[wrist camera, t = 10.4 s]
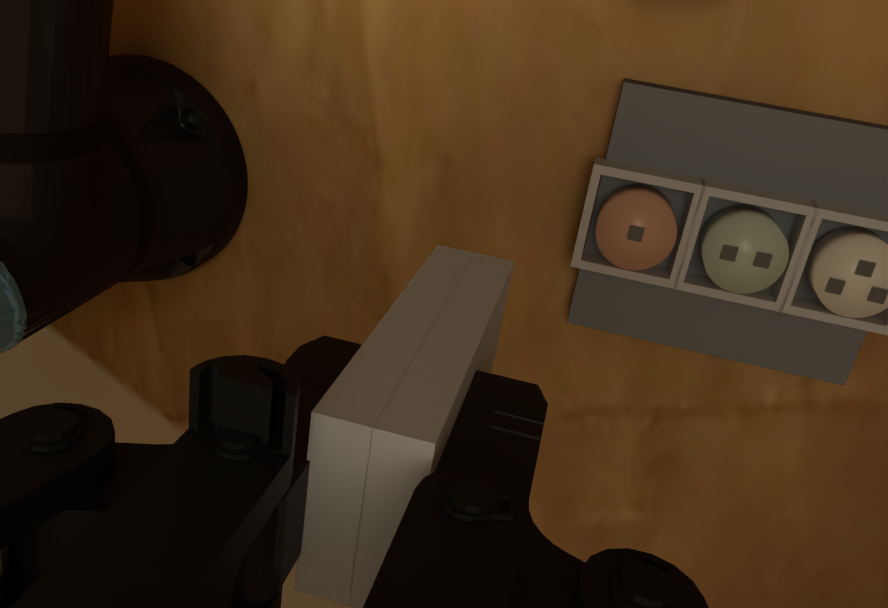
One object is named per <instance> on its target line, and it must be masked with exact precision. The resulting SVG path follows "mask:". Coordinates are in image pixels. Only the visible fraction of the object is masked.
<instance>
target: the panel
mask: <svg viewBox="0 0 888 608" xmlns="http://www.w3.org/2000/svg"><path fill="white" fill-rule="evenodd" d="M600 176H601V179H600ZM599 180H600V183H599ZM598 184H599V187H598ZM631 184H643V185H648V186H651V187H653V188H655V189H657V190H659V191H660V192H662V193H663V194H664V195H665V196H666V197H667V199H668V200H669V201H670V203H671V205H672V208H673V211H674V215H675V221H676V226H677V237H676V241H675V244H674V247H673V249H672V251H671V252H670V253H669V255H668V256H667V257H666V258H665V259H664V260H663V261H662V262H660V263H659V264H657V265H655V266H653V267H651V268H648V269H644V270H627V269H623V268H620V267H618V266H616V265H614V264H612V263H611V262H610V261H608V260H607V259H606V258H605V257H604V255H603V254H602V253H601V251H600V249H599V247H598V245H597V241H596V225H597V218H598V213H599V210H600V207H601V205H602V203H603V202H604V200H605V199H606V198H607V197H608V196H609V195H610V194H611V193H612V192H613V191H615V190H617V189H618V188H620V187H623V186H626V185H631ZM597 188H598V191H597ZM596 193H597V196H596ZM595 197H596V200H595ZM594 201H595V204H594ZM593 205H594V208H593ZM738 205H748V206H753V207H757V208H759V209H762V210H763V211H765V212H767V213H768V214H769V215H770V216H771V217H772V218H773V219H774V220H775V222H776V223H777V225H778V226H779V228H780V229H781V231H782V233H783V234H784V236H785V238H786V240H787V243H788V248H789V258H788V263H787V266H786V268H785V270H784V272H783V273H782V275H781V276H780V277H779V278H778V279H777V280H776V281H775V282H774V283H773V284H772V285H770V286H769V287H767V288H765V289H763V290H761V291H757V292H753V293H746V294H741V293H733V292H730V291H727V290H724V289H723V288H721V287H719V286H718V285H716V284H715V283H714V282H713V281H712V280H711V278H710V277H709V276H708V274H707V272H706V270H705V267H704V263H703V259H702V255H701V251H700V237H701V234H702V231H703V229H704V227H705V225H706V224H707V222H708V221H709V220H710V219H711V218H712V217H713V216H714V215H715V214H717V213H718V212H720V211H722V210H724V209H726V208H729V207H732V206H738ZM592 210H593V213H592ZM591 214H592V217H591ZM590 218H591V221H590ZM589 222H590V225H589ZM588 227H589V230H588ZM849 227H857V228H864V229H867V230H870V231H872V232H874V233H876V234H877V235H879V236H880V237H881V238H882V239H883V240H884V241H885V242H886V243H887V244H888V126H885V125H880V124H874V123H869V122H863V121H857V120H852V119H846V118H841V117H835V116H830V115H824V114H819V113H813V112H808V111H802V110H797V109H791V108H786V107H780V106H775V105H769V104H763V103H758V102H752V101H747V100H741V99H736V98H730V97H725V96H719V95H714V94H708V93H703V92H697V91H692V90H686V89H681V88H675V87H670V86H664V85H658V84H653V83H647V82H642V81H636V80H631V79H625V78H624V81H623V86H622V90H621V94H620V98H619V103H618V107H617V111H616V115H615V120H614V124H613V128H612V132H611V136H610V141H609V145H608V149H607V153H606V158H605V159H603V158H598V157H595V161H594V166H593V170H592V174H591V179H590V183H589V187H588V192H587V196H586V200H585V205H584V209H583V213H582V217H581V222H580V226H579V230H578V235H577V239H576V243H575V248H574V252H573V256H572V261H571V267H575V268H579V272H578V276H577V280H576V285H575V289H574V293H573V297H572V301H571V306H570V310H569V315H568V320H567V322H568V323H572V324H577V325H581V326H586V327H590V328H594V329H599V330H603V331H608V332H612V333H616V334H621V335H625V336H630V337H634V338H638V339H643V340H647V341H651V342H656V343H660V344H665V345H669V346H673V347H678V348H682V349H687V350H691V351H695V352H700V353H704V354H709V355H713V356H717V357H722V358H726V359H730V360H735V361H739V362H744V363H748V364H752V365H757V366H761V367H766V368H770V369H774V370H779V371H783V372H787V373H792V374H796V375H801V376H805V377H809V378H814V379H818V380H823V381H827V382H831V383H836V384H840V385H845V383H846V381H847V379H848V376H849V374H850V371H851V369H852V366H853V364H854V362H855V359H856V357H857V354H858V352H859V349H860V347H861V344H862V342H863V340H864V337H865V335H866V332H867V331H870V332H874V333H879V334H883V335H888V308H886V309H885V310H883V311H881V312H880V313H877V314H875V315H872V316H868V317H863V318H850V317H844V316H841V315H838V314H836V313H834V312H832V311H830V310H829V309H828V308H826V307H825V306H824V304H823V303H822V302H821V301H820V299H819V297H818V296H817V294H816V292H815V291H814V289H813V288H812V286H811V284H810V282H809V280H808V278H807V273H806V262H807V259H808V256H809V253H810V251H811V250H812V248H813V247H814V245H815V244H816V243H817V242H818V241H819V240H820V239H821V238H823V237H824V236H826V235H827V234H829V233H831V232H833V231H836V230H839V229H843V228H849ZM587 231H588V234H587ZM586 235H587V238H586ZM585 239H586V242H585ZM584 244H585V246H584ZM583 248H584V250H583Z"/></svg>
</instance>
